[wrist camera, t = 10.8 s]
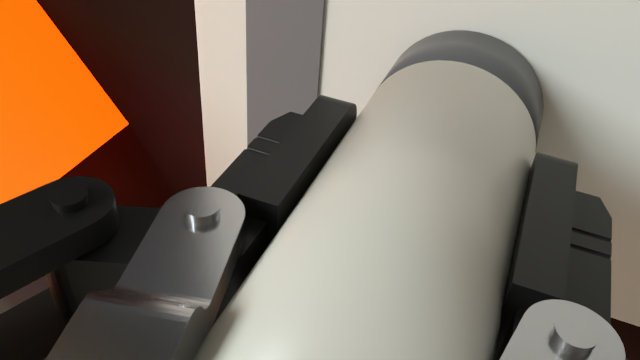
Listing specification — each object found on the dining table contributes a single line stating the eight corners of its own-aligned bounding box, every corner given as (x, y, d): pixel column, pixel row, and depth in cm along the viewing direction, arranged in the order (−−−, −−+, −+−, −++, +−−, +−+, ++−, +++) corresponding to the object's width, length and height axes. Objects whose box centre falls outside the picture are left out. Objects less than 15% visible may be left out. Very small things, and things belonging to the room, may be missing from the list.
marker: (573, 47, 12) (439, 957, 3) (521, 192, 14) (359, 943, 5) (393, 8, 13) (-108, 607, 4) (372, 150, 15) (27, 726, 6)
